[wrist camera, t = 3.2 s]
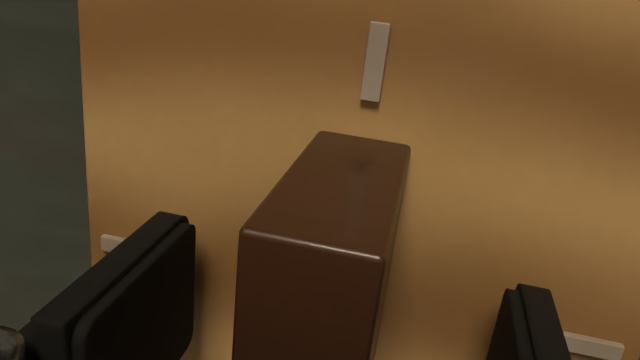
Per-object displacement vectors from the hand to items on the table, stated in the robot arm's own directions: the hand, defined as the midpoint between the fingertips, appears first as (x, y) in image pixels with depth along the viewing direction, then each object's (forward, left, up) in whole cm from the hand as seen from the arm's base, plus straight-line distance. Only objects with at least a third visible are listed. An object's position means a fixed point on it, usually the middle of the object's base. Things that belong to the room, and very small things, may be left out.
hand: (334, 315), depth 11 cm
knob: (0, 0, -1) cm, 1 cm away
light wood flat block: (0, 0, -4) cm, 4 cm away
